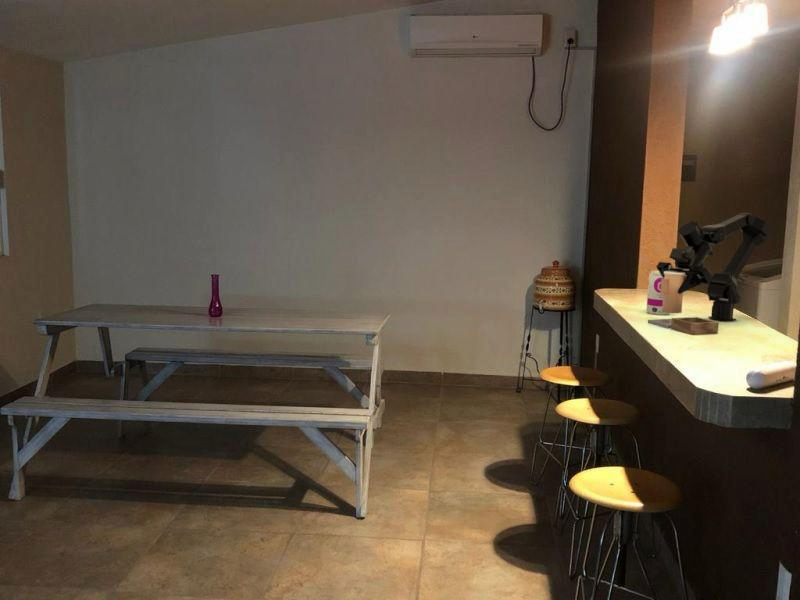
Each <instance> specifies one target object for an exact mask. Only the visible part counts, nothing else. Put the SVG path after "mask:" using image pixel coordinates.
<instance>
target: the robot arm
mask: <svg viewBox="0 0 800 600" xmlns="http://www.w3.org/2000/svg"><path fill="white" fill-rule="evenodd" d="M739 230H740V231H741V237H742V240H741V242H740V244H739V245H738V247H737V248H736V250H735V251H734V254H733V255H732V257H731V258H730V260H729V262H728V263H727V265H726V267H725V268H724V270H723V271H722V272H721V273H720V272H715V273H714V274H713V275H712V273H711V271H710V270H709V268H708V266H704V264H703V262H704V261H705V260H706V258H707V256H710V257H713V256H714V251H713V250H714V249H713V247H711V245H717V246H718V245H721V243H723V242H724V241H725V240H726V239H727V236H729V235H730V234H733V233H734V232H737V231H739ZM678 234H679V235H680V238H681V239H682V240H683V243H684V244H685V246H687V247H689V248H686V249H682V248H676V247H675V248H674V247H673V248H671V249H672V250H671V251H670V255H669V259H672V260H673V261H675V262H674V264H675V265H676V267H675V266H673V265H672V263H671V262H667V261H659V262H658V263H657V265H656V269H657V271H659V272H660V274H661V275H662V277H663V278H664V277H665V274H664V271H681V272H685V275H684V277H685V278H684V282H683V283H682V285H681V286H680V288H679V290H678V293H679V294H681V293H683V294H684V293H685V292H686V291H689V290H691V289H692V288H695V287H697V286H702V285H703V284H704V285H707V294H708V295H707V297H708V301H712V306H711V315H710V316H708V318H709V319H710V320H716V321H720V322H727V321H728V322H729V321H730V322H731V321H737V318H734V317H733V316H734V310H735V309H734V308H735V305H737V304H739V303H740V300H741V295H740V294H739V292H738V291H737V288H738V281H737V279H738V278H739V276H740V274H741V272H742V271H743V269H744V268H745V266H746V264H747V263H748V261H749V259H751V256H752V255H753V253H754V251H755V249H756V248H757V247H759V246H760V245H762V244H764V243H766V241H767V240H768V238H770V236H771V234H772V226H770V224H769V223H768V222H766V221H765V220H763V219H761V218H758V217H757V216H756V215H754V213H753V214H752V213H751V212H750V213H748V212H740V213H738V214H736V215H734V216H732V217H731V218H728V219H727V220H724V221H722V222H719V223H716V224H711V225H709V224H708V225H704V226H701V227H700V226H699V225H698V222H697V220H690V222H688V223H686V224H683V225H682V226H681V227H679V229H678Z"/></svg>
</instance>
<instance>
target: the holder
mask: <svg viewBox="0 0 800 600" xmlns="http://www.w3.org/2000/svg"><path fill="white" fill-rule="evenodd" d="M670 319H671V328H670V330H672V329H673V331H676V332H680V333H684V334H687V335H691V336H695V335H698V336H699V335H717V334H718V333H719V322H718V321H714V320H712V319H706V318H701V317H697V316H695V317H694V316H693V317H692V316H691V317H672V318H670Z"/></svg>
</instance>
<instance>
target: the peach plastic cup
mask: <svg viewBox="0 0 800 600" xmlns="http://www.w3.org/2000/svg"><path fill="white" fill-rule="evenodd" d="M664 274H665V277H664V279H661V292H660V294H662V295H663V306H662V311H663V312H667V313H669V314H681V313H682V312H683V299H684V297H683V296H684V292H683V293H681V294H679V293H678V290H679V288H680V286H681V285H682V283H683V282H684V280H685V276H684V275H685V272H681V271H664Z"/></svg>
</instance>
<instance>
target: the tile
mask: <svg viewBox="0 0 800 600" xmlns="http://www.w3.org/2000/svg"><path fill="white" fill-rule="evenodd" d="M671 319H672V318H667V319H666V318H663V319H662V318H661V319H648V320H647V323H648V324H650V325H654V326H657V325H658V327H661V328H665V329H671Z"/></svg>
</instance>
